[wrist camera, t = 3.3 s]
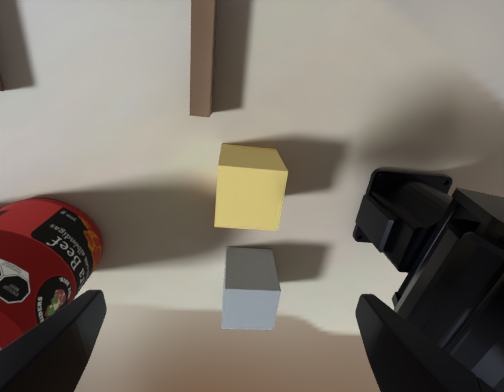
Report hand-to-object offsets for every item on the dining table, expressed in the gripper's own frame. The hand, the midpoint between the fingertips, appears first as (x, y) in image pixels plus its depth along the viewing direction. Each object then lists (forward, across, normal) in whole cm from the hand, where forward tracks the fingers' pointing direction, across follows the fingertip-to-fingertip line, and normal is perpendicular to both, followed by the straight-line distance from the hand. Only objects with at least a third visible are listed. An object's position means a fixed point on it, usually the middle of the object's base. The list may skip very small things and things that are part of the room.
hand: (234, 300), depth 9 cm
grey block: (+12, -1, +9) cm, 15 cm away
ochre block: (+12, -1, 0) cm, 12 cm away
